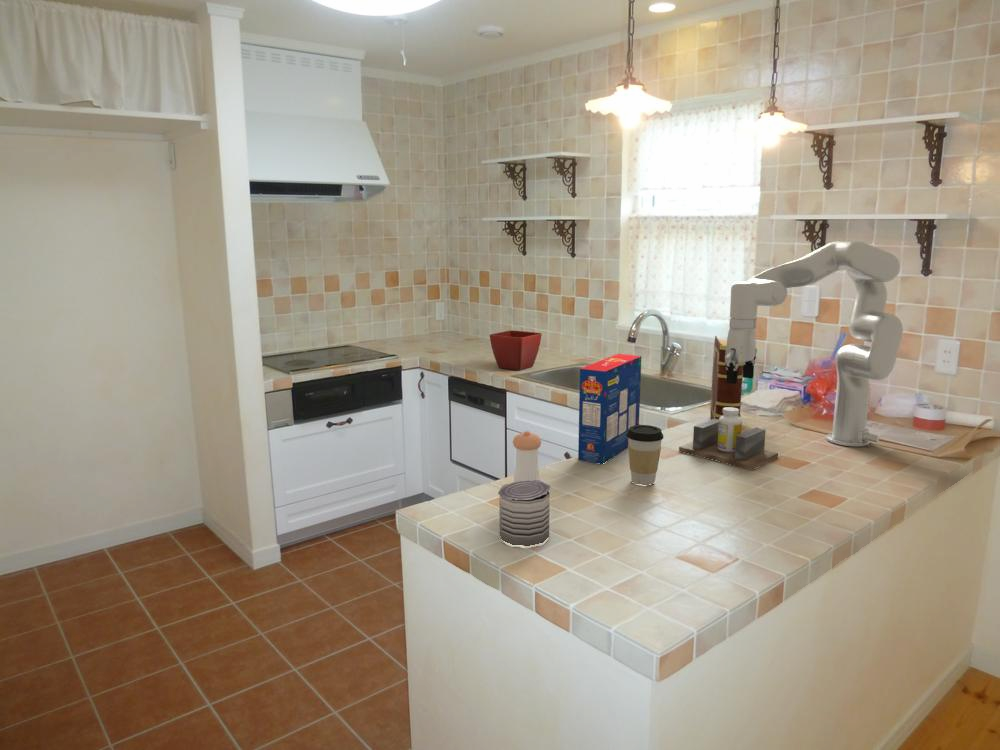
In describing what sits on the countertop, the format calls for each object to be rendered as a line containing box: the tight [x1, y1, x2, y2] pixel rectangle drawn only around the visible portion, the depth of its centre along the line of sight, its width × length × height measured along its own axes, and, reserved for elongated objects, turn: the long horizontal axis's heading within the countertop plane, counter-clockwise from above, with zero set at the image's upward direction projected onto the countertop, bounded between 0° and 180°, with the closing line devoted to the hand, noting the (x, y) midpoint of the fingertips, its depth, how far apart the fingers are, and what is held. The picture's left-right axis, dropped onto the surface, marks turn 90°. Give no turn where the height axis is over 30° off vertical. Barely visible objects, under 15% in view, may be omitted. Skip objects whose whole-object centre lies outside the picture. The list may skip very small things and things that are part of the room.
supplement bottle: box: [718, 407, 743, 452], centre depth 213 cm, size 7×7×13 cm
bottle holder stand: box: [678, 419, 779, 471], centre depth 213 cm, size 24×16×8 cm, turn 43°
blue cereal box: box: [577, 353, 642, 465], centre depth 217 cm, size 28×8×28 cm, turn 148°
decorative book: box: [709, 335, 745, 420], centre depth 242 cm, size 22×8×30 cm, turn 168°
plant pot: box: [489, 330, 543, 371], centre depth 345 cm, size 19×19×17 cm
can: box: [497, 479, 552, 546], centre depth 157 cm, size 11×11×12 cm
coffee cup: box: [626, 424, 664, 485], centre depth 190 cm, size 10×10×15 cm
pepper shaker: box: [512, 430, 542, 482], centre depth 175 cm, size 7×7×19 cm
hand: (740, 380), depth 211 cm, fingers open, 9 cm apart
